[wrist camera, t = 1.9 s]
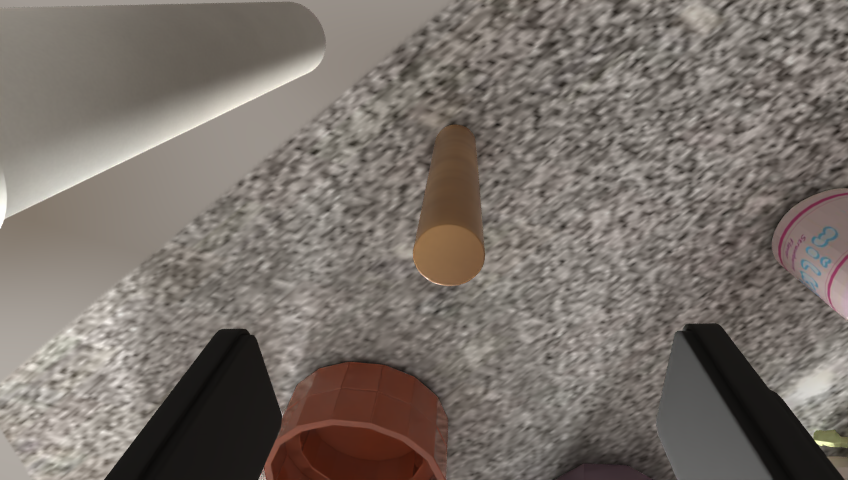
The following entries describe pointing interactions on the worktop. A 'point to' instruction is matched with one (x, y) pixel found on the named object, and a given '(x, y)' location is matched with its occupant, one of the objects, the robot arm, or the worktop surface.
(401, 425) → the bowl
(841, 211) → the beverage can
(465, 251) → the stick
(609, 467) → the flask
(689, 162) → the worktop surface
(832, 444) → the figurine
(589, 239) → the worktop surface
